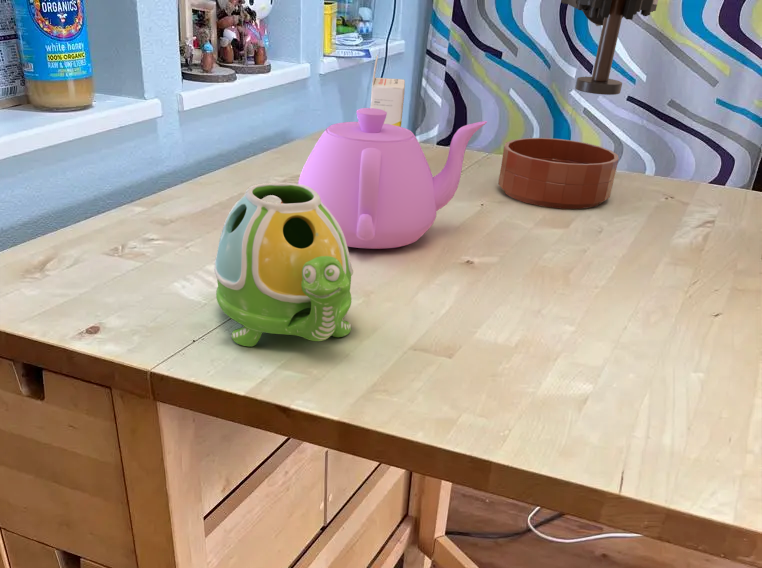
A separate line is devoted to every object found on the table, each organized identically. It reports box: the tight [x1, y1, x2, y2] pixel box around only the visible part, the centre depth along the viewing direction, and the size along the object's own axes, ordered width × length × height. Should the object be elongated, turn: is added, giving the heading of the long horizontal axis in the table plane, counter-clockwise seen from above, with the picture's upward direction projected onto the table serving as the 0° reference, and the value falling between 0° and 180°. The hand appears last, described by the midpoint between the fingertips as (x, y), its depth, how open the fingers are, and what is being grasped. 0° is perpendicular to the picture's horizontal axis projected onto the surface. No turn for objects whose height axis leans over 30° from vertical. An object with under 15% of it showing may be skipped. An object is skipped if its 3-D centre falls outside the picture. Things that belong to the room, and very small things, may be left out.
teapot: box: [297, 107, 488, 250], centre depth 95 cm, size 22×22×14 cm
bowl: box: [498, 137, 620, 210], centre depth 118 cm, size 16×16×6 cm
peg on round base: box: [574, 0, 626, 96], centre depth 103 cm, size 6×6×18 cm
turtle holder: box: [213, 182, 354, 348], centre depth 71 cm, size 12×18×12 cm
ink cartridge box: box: [369, 54, 406, 127], centre depth 123 cm, size 9×5×15 cm, turn 178°
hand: (620, 5), depth 98 cm, fingers closed on peg on round base, 2 cm apart
